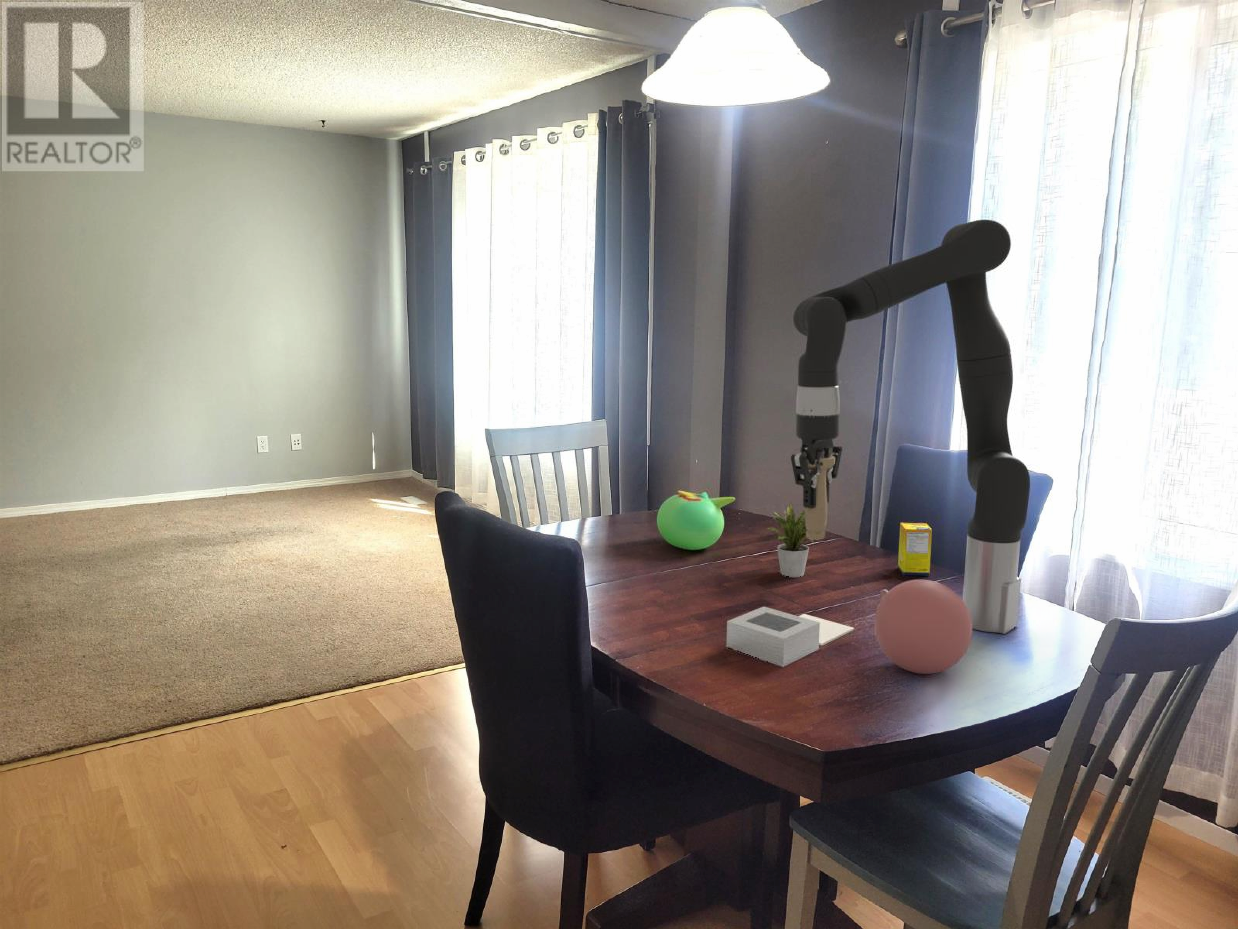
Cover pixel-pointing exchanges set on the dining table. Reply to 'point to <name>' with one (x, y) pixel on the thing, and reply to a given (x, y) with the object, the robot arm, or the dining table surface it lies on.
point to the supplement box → (914, 549)
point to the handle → (818, 503)
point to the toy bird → (692, 520)
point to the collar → (773, 635)
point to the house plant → (792, 544)
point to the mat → (828, 629)
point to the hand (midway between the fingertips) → (816, 505)
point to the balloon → (922, 626)
